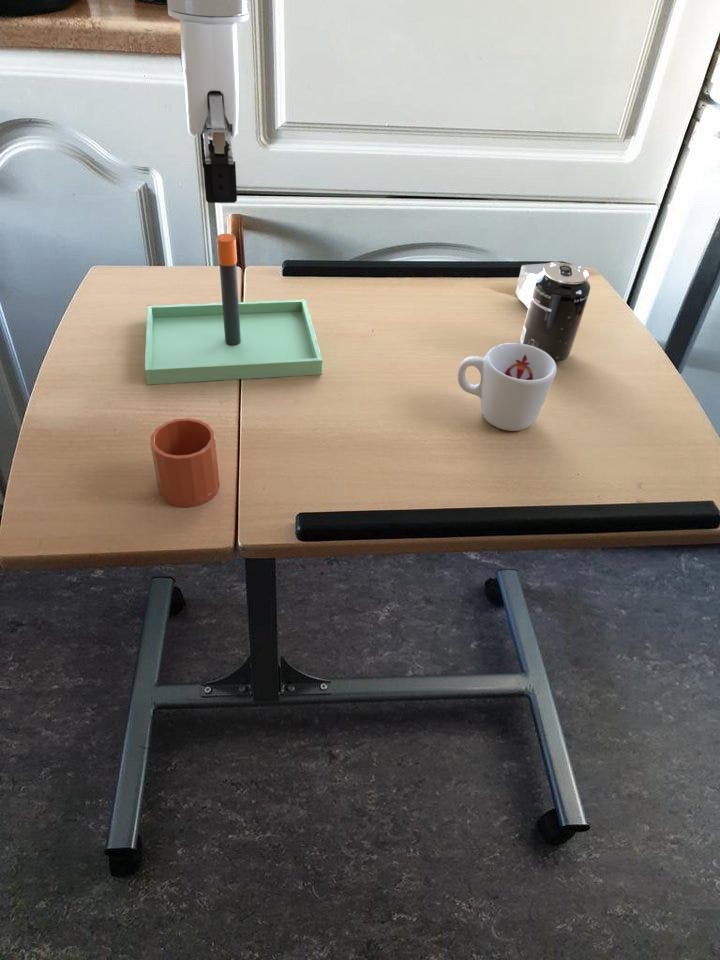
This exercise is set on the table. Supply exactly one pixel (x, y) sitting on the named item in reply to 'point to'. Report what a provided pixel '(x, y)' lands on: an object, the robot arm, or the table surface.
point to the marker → (229, 287)
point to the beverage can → (556, 309)
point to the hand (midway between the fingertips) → (219, 184)
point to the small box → (527, 281)
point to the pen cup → (185, 462)
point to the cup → (510, 383)
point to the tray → (206, 357)
